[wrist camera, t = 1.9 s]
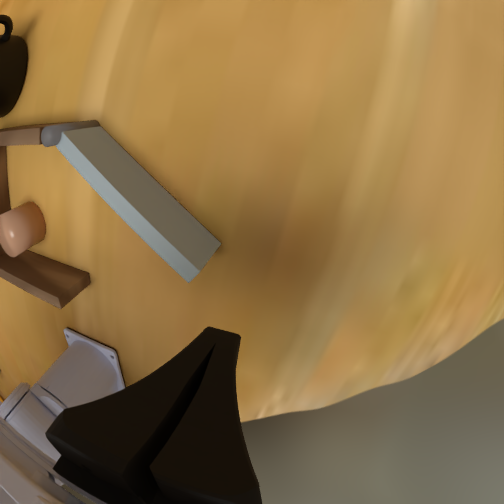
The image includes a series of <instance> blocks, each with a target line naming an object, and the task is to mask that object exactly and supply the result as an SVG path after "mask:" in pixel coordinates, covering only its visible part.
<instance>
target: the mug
mask: <svg viewBox="0 0 504 504" xmlns="http://www.w3.org/2000/svg"><path fill="white" fill-rule="evenodd" d="M0 23H1V24H3V25H4V26H5V33H4V34H3V35H0V118H1V117H3V116H4V115H6V114H7V113H8V112H9V111H10V110H11V109H12V107H13V106H14V104H15V102H16V100H17V98H18V96H19V94H20V91H21V88H22V85H23V82H24V78H25V73H26V67H27V48H26V44H25V42H24V40H23V39H22V38H20V37H19V36H13V35H11V33H12V30H13V23H12V20H11V18H10V17H9V16H6V15H0Z"/></svg>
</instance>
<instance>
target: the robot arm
mask: <svg viewBox="0 0 504 504" xmlns="http://www.w3.org/2000/svg"><path fill="white" fill-rule="evenodd" d="M64 333H65V336H66V339H67V342H68V345H69V347H68V348H67V349H66V350H65V351H64V352H63V353H62V355H61V356H60V357H59V358H58V359H57V360H56V361H55V362H54V363H53V364H52V366H51V367H50V368H49V369H48V370H47V371H46V372H45V373H44V375H43V376H42V377H41V378H40V379H39V380H38V381H37V383H35V384H34V385H33V386H32V387H31V388H30V385H29V384H28V383H20V384H19V385H18V386H17V387H16V388H15V389H14V391H13V392H12V393H11V394H10V395H9V396H8V397H7V399H6V400H5V401H4V402H3V403H2V405H1V406H0V504H85V503H83V502H82V501H80V500H79V499H77V498H76V497H75V496H73V495H72V494H71V493H70V492H68V491H67V490H65V489H64V488H62V487H61V485H63V484H65V485H67V486H68V487H70V488H71V489H73V490H74V491H76V492H78V493H79V494H81V495H82V496H84V497H86V498H88V499H89V500H91V501H93V502H95V503H96V504H262V499H261V494H260V489H259V482H258V480H257V477H256V475H255V472H254V469H253V467H252V464H251V461H250V457H249V454H248V451H247V447H246V444H245V440H244V436H243V432H242V427H241V422H240V417H239V410H238V403H237V393H236V365H237V359H238V352H239V346H240V340H241V337H240V335H239V334H235V333H232V332H228V331H224V330H220V329H216V328H213V327H207V328H205V329H204V331H203V332H202V333H201V334H200V335H199V336H198V337H196V338H195V339H194V340H193V341H192V342H191V343H190V344H189V345H188V346H187V347H185V348H184V349H183V350H182V351H181V352H180V353H178V354H177V355H176V356H175V357H173V358H172V359H171V360H170V361H168V362H167V363H165V364H164V365H163V366H161V367H160V368H159V369H157V370H156V371H154V372H153V373H151V374H150V375H148V376H146V377H145V378H143V379H141V380H139V381H138V382H136V383H134V384H132V385H130V386H128V387H126V388H125V385H124V381H123V378H122V374H121V370H120V366H119V362H118V358H117V354H116V351H115V350H113V349H111V348H109V347H107V346H104V345H102V344H100V343H98V342H95V341H93V340H91V339H89V338H87V337H85V336H82V335H80V334H78V333H76V332H74V331H72V330H70V329H68V328H65V329H64ZM29 388H30V389H29ZM4 418H5V419H4Z"/></svg>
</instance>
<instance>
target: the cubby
mask: <svg viewBox="0 0 504 504" xmlns="http://www.w3.org/2000/svg"><path fill="white" fill-rule="evenodd" d="M67 123H73V122H67ZM58 124H65V123H52V124H40V125H30V126H21V127H13V128H6V129H0V215H1V214H3V213H5V212H7V211H9V210H11V209H10V201H9V191H8V180H7V163H6V146H10V145H40V144H42V141H41V133H42V130H43V129H44V127H46V126H51V125H58ZM0 277H2V278H3V279H5V280H7V281H9V282H10V283H12V284H14V285H16V286H17V287H19V288H21V289H23V290H25V291H27V292H28V293H30V294H32V295H34V296H36V297H38V298H40V299H42V300H44V301H46V302H48V303H50V304H52V305H54V306H56V307H58V308H60V309H62V308H63V307H64V306H65V305H66V304H67V303H69V302H70V301H71V300H72V299H73V298H74V297H75V296H77V295H78V294H79V293H80V292H81V291H82V290H84V289H85V288H86V287H87V286H88V285H89V284H90V278H89V273H87V272H84V271H82V270H79V269H76V268H73V267H70V266H68V265H65V264H62V263H59V262H57V261H54V260H51V259H49V258H46V257H44V256H41V255H38V254H36V253H33V252H31V251H28V250H25V251H24V252H22V253H21V254H19V255H17V256H16V257H11V256H9V255H8V254H7V253H6V252H5V251H4V249H3V248H2V246H1V244H0Z"/></svg>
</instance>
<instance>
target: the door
mask: <svg viewBox="0 0 504 504" xmlns="http://www.w3.org/2000/svg"><path fill="white" fill-rule="evenodd" d="M41 141H42V144H43V145H44V146H45V147H49V146H53V145H56V147H57V148H58V150H59V151H60V152H61V153H62V154H63V155H64V156H65V158H66V159H67V160H68V161H69V162H70V163H71V164H72V166H73V167H74V168H75V169H76V170H77V171H78V172H79V173H80V174H81V176H82V177H83V178H84V179H85V180H86V181H87V182H88V183H89V184H90V185H91V187H92V188H93V189H94V190H95V191H96V192H97V193H98V194H99V195H100V196H101V197H102V198H103V199H104V200H105V201H106V203H107V204H108V205H109V206H110V207H111V208H112V209H113V210H114V211H115V212H116V213H117V214H118V215H119V216H120V217H121V218H122V219H123V220H124V221H125V222H126V223H127V224H128V225H129V226H130V227H131V228H132V229H133V230H134V231H135V232H136V233H137V234H138V235H139V236H140V237H141V238H142V239H143V240H144V241H145V242H146V243H147V244H148V245H149V246H150V247H151V248H152V249H153V250H154V251H155V252H156V253H157V254H158V255H159V256H160V257H161V258H162V259H163V260H164V261H166V262H167V263H168V264H169V265H170V266H171V267H172V268H173V269H174V270H175V271H176V272H177V273H178V274H179V275H180V276H181V277H183V278H184V279H185V280H186V281H187V282H188V283H189V282H190V281H191V280H192V279H193V278H194V277H195V276H196V275H197V274H198V273H199V272H200V271H201V270H202V269H203V267H204V266H205V265H206V263H207V262H208V261H209V259H210V258H211V257H212V255H213V254H214V253H215V251H216V250H217V249H218V247H219V246H220V245H221V243H220V242H219V241H218V240H217V239H216V238H215V237H214V236H213V235H212V234H211V233H210V232H209V231H208V230H207V229H206V228H205V227H204V226H202V225H201V224H200V223H199V222H198V221H197V220H196V219H195V218H194V217H193V216H192V215H191V214H190V213H189V212H188V211H187V210H186V209H185V208H184V207H183V206H182V205H181V204H180V203H179V202H177V201H176V200H175V199H174V198H173V197H172V196H171V195H170V194H169V193H168V192H167V191H166V190H165V189H164V188H163V187H162V186H161V185H160V184H159V183H158V182H157V181H156V180H155V179H154V178H153V177H152V176H151V175H150V174H149V173H148V172H147V171H146V170H144V169H143V168H142V167H141V166H140V165H139V164H138V163H137V162H136V161H135V160H134V159H133V158H132V157H131V156H130V155H129V154H128V153H127V152H126V151H125V150H124V149H123V148H122V147H121V146H120V145H119V144H118V143H117V142H116V141H115V140H114V139H113V138H112V137H111V136H110V135H109V134H108V133H107V132H106V131H105V130H104V129H103V128H102V127H101V126H100V125H99V123H98V122H97V121H96V120H91V121H81V122H73V123H65V124H58V125H51V126H46V127H44V129H43V130H42V133H41Z"/></svg>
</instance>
